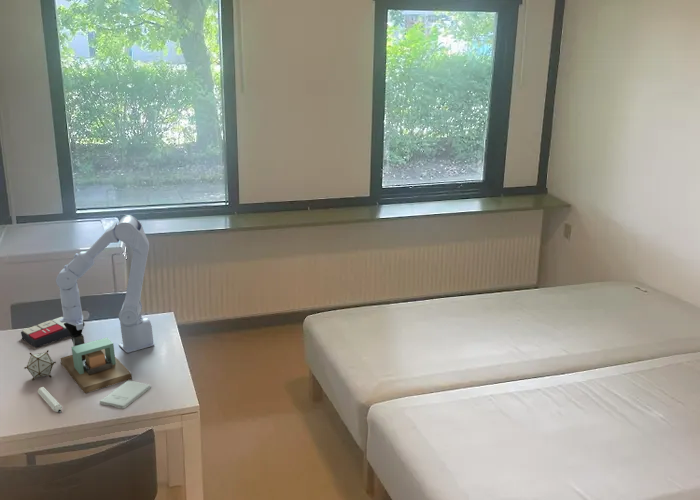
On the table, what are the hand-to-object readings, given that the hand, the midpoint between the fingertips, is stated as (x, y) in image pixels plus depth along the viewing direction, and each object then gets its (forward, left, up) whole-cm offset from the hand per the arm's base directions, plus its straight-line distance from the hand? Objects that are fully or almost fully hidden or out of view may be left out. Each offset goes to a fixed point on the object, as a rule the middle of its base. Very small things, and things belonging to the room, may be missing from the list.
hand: (76, 342), depth 222 cm
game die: (+14, +11, -3) cm, 18 cm away
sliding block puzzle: (+4, -18, -3) cm, 19 cm away
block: (0, +19, -1) cm, 20 cm away
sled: (0, +13, 0) cm, 13 cm away
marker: (+16, +30, -3) cm, 34 cm away
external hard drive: (-2, +38, -4) cm, 39 cm away
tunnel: (0, +18, -1) cm, 18 cm away
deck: (0, +18, -3) cm, 19 cm away
